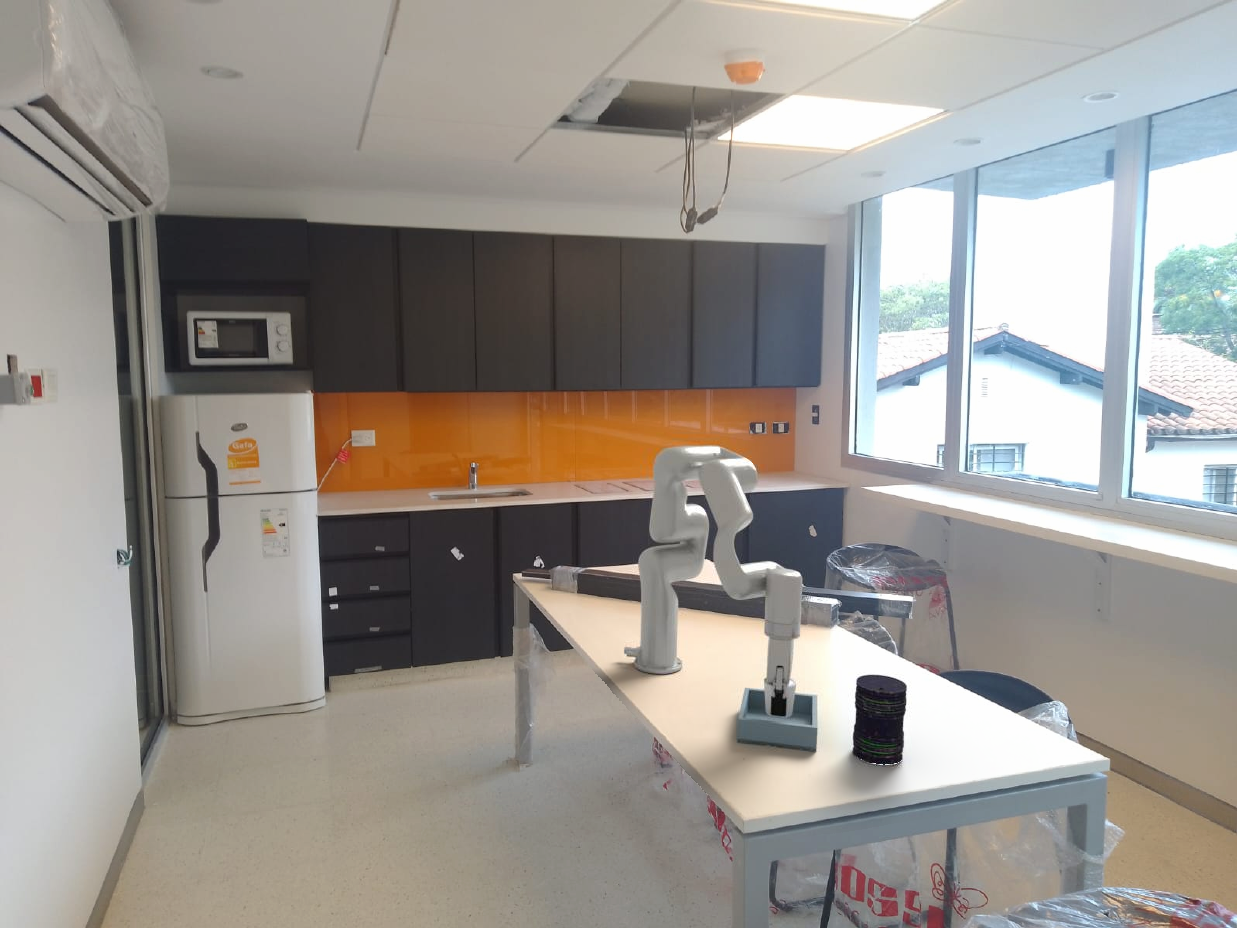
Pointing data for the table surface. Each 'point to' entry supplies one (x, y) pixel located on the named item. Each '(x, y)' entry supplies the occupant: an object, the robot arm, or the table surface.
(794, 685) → the white cup
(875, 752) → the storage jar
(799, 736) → the open box
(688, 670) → the table surface
